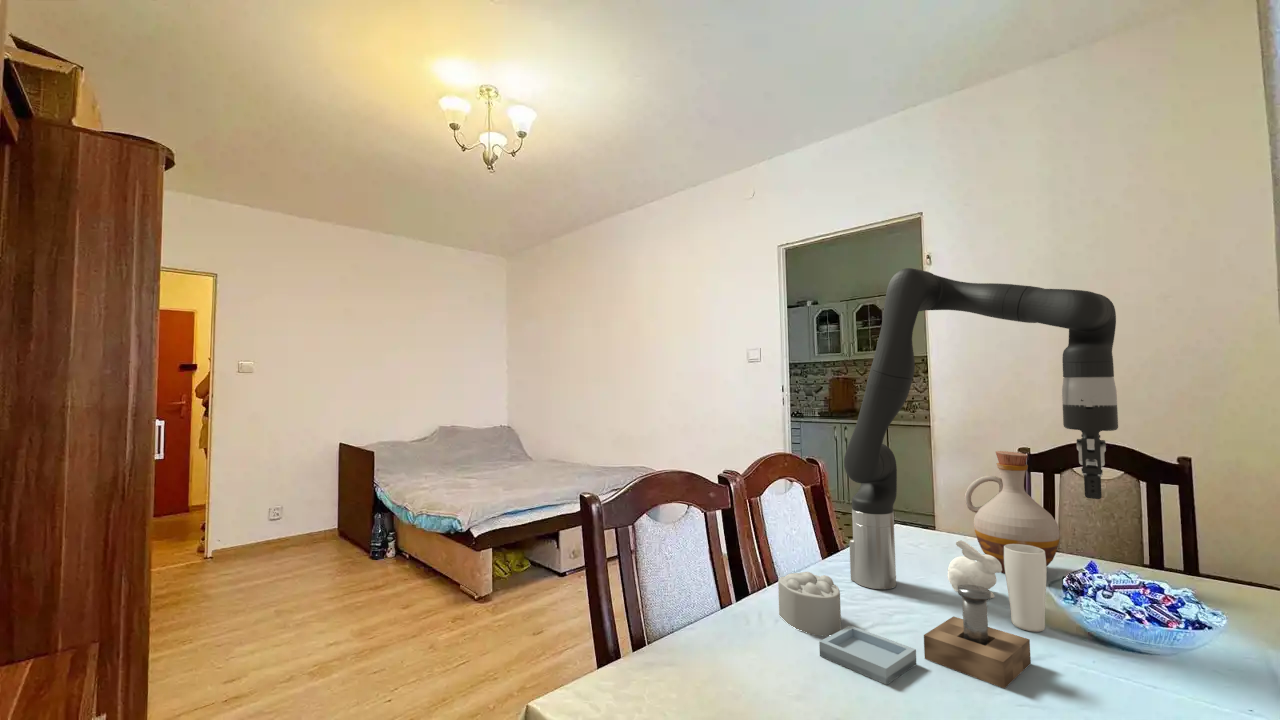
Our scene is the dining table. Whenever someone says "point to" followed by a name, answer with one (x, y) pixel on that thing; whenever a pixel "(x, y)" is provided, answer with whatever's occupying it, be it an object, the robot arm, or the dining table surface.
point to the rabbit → (973, 568)
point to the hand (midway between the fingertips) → (1093, 494)
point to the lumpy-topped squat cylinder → (810, 603)
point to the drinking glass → (1026, 585)
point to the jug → (1012, 513)
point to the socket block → (978, 653)
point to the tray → (868, 654)
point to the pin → (975, 612)
